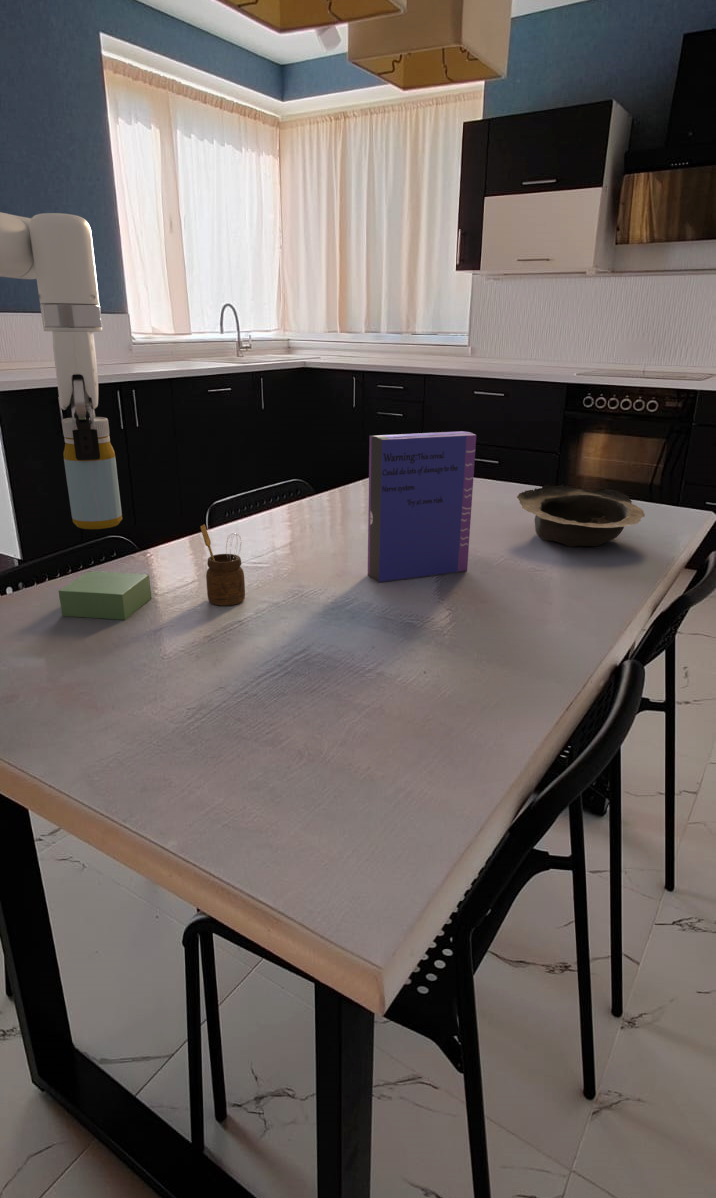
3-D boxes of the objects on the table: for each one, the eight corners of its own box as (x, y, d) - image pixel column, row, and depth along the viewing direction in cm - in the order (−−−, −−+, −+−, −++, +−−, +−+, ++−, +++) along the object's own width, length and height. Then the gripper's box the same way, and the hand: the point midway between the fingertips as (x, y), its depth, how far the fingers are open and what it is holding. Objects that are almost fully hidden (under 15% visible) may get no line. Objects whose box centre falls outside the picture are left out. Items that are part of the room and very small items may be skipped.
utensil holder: (238, 608, 119) (234, 532, 114) (200, 605, 120) (194, 529, 116) (250, 596, 125) (247, 523, 120) (214, 593, 126) (209, 520, 121)
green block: (62, 616, 115) (58, 590, 114) (92, 594, 124) (89, 571, 123) (125, 620, 114) (122, 594, 112) (151, 598, 123) (149, 574, 122)
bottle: (118, 517, 118) (106, 415, 112) (126, 527, 113) (114, 420, 107) (70, 521, 116) (55, 417, 110) (76, 532, 110) (61, 423, 104)
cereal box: (453, 564, 142) (461, 430, 132) (467, 571, 138) (476, 433, 128) (367, 574, 136) (369, 434, 126) (378, 582, 131) (381, 438, 122)
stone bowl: (554, 517, 176) (561, 476, 172) (657, 546, 161) (668, 502, 157) (491, 534, 160) (498, 490, 156) (600, 568, 144) (611, 520, 140)
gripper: (47, 319, 110) (64, 447, 117) (36, 319, 94) (57, 466, 101) (102, 320, 112) (116, 445, 119) (100, 320, 96) (116, 464, 103)
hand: (89, 454), depth 110 cm, fingers closed on bottle, 7 cm apart
